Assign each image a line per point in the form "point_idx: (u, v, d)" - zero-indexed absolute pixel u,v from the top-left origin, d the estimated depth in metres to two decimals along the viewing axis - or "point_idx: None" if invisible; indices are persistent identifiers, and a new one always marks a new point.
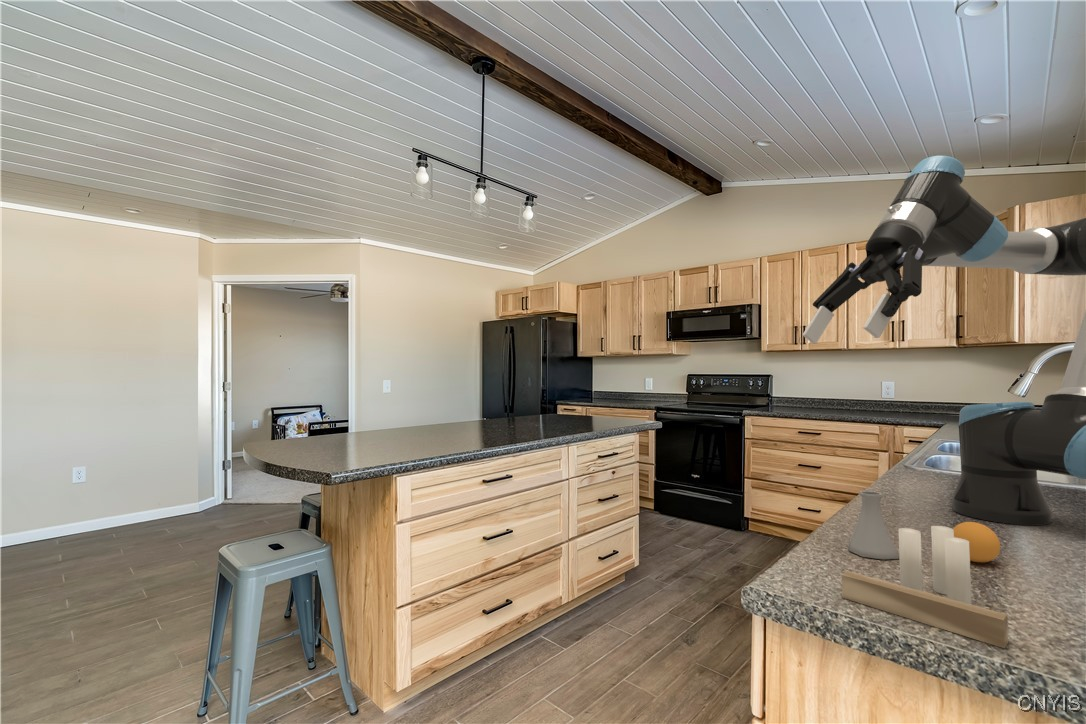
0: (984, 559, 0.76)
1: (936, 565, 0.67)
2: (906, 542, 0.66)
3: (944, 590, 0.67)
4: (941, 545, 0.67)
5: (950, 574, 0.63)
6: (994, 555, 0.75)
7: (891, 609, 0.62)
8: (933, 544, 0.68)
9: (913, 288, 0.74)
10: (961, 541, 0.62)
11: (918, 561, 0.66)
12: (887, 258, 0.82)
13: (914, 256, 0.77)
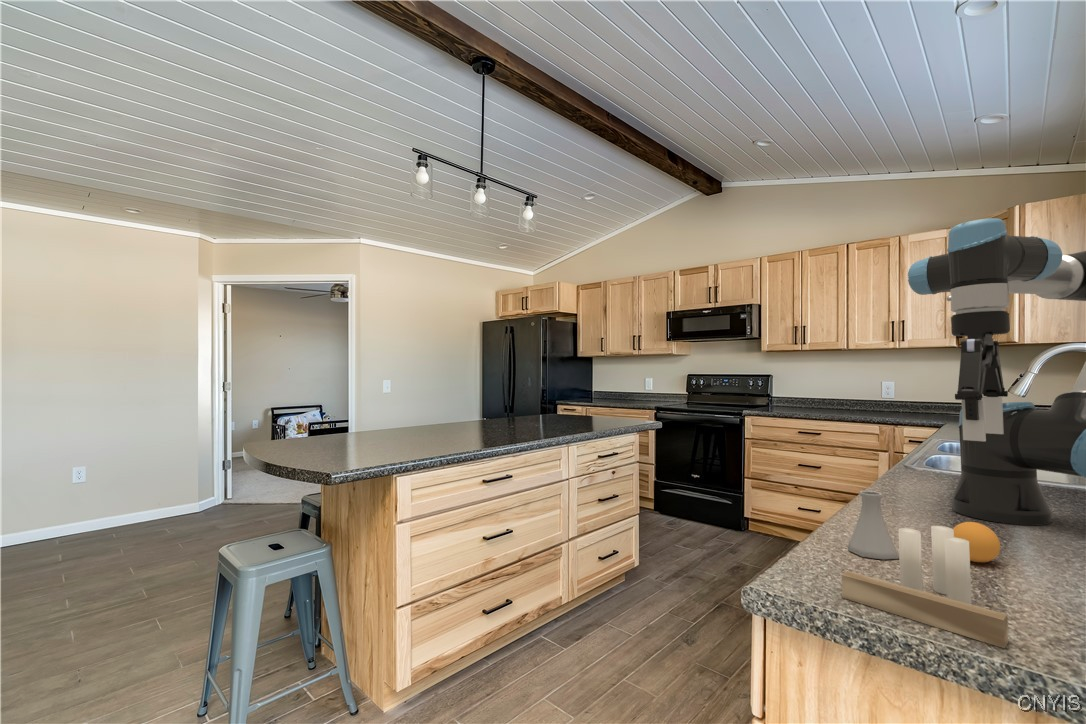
0: (984, 559, 0.76)
1: (936, 565, 0.67)
2: (906, 542, 0.66)
3: (944, 590, 0.67)
4: (941, 545, 0.67)
5: (950, 574, 0.63)
6: (994, 555, 0.75)
7: (891, 609, 0.62)
8: (933, 544, 0.68)
9: (966, 393, 0.79)
10: (961, 541, 0.62)
11: (918, 561, 0.66)
12: None
13: (966, 351, 0.81)
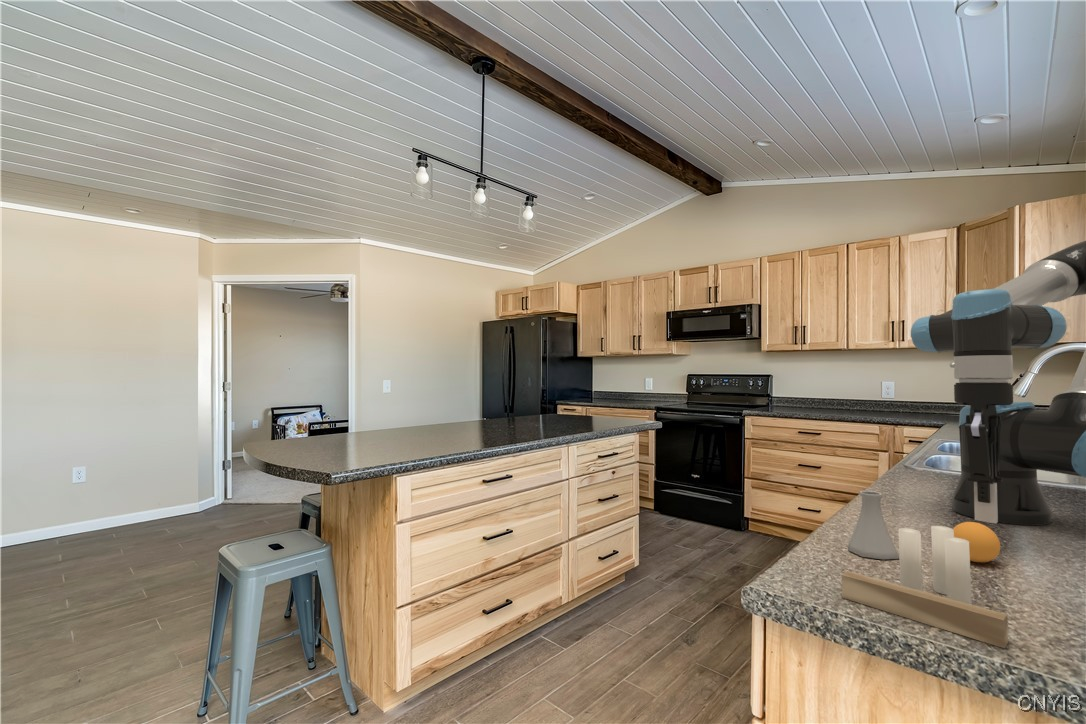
0: (984, 559, 0.76)
1: (936, 565, 0.67)
2: (906, 542, 0.66)
3: (944, 590, 0.67)
4: (941, 545, 0.67)
5: (950, 574, 0.63)
6: (994, 555, 0.75)
7: (891, 609, 0.62)
8: (933, 544, 0.68)
9: (979, 479, 0.82)
10: (961, 541, 0.62)
11: (918, 561, 0.66)
12: None
13: (972, 437, 0.81)
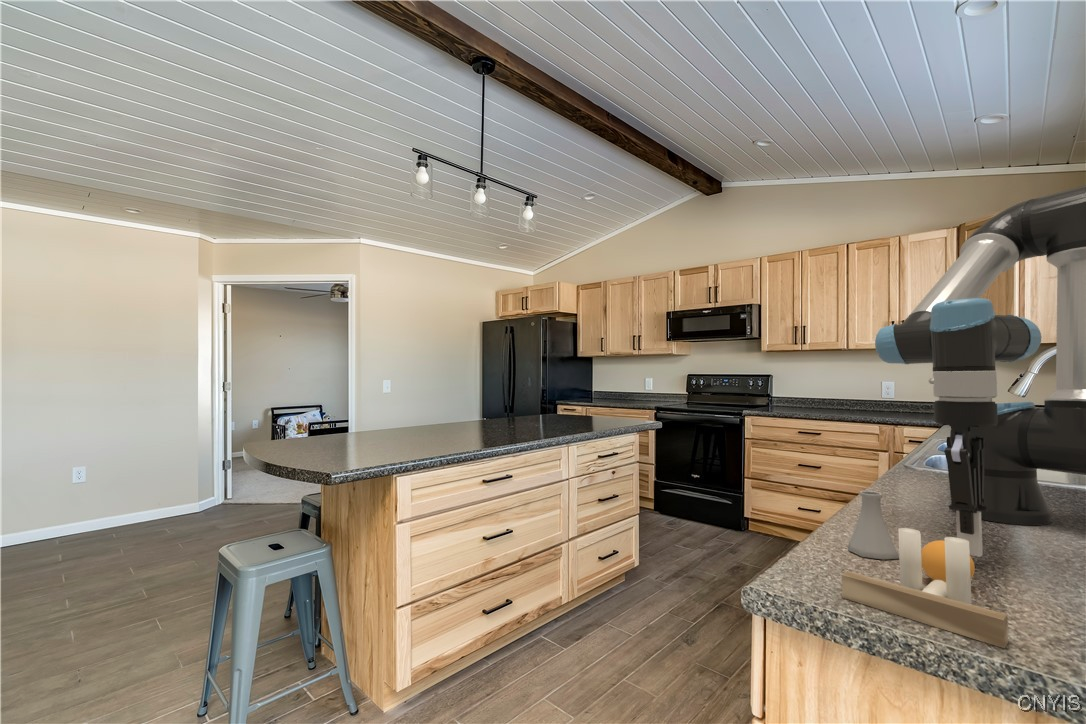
0: None
1: None
2: (906, 542, 0.66)
3: None
4: None
5: (950, 574, 0.63)
6: None
7: (891, 609, 0.62)
8: None
9: (961, 508, 0.74)
10: (961, 541, 0.62)
11: (918, 561, 0.66)
12: None
13: (952, 462, 0.74)
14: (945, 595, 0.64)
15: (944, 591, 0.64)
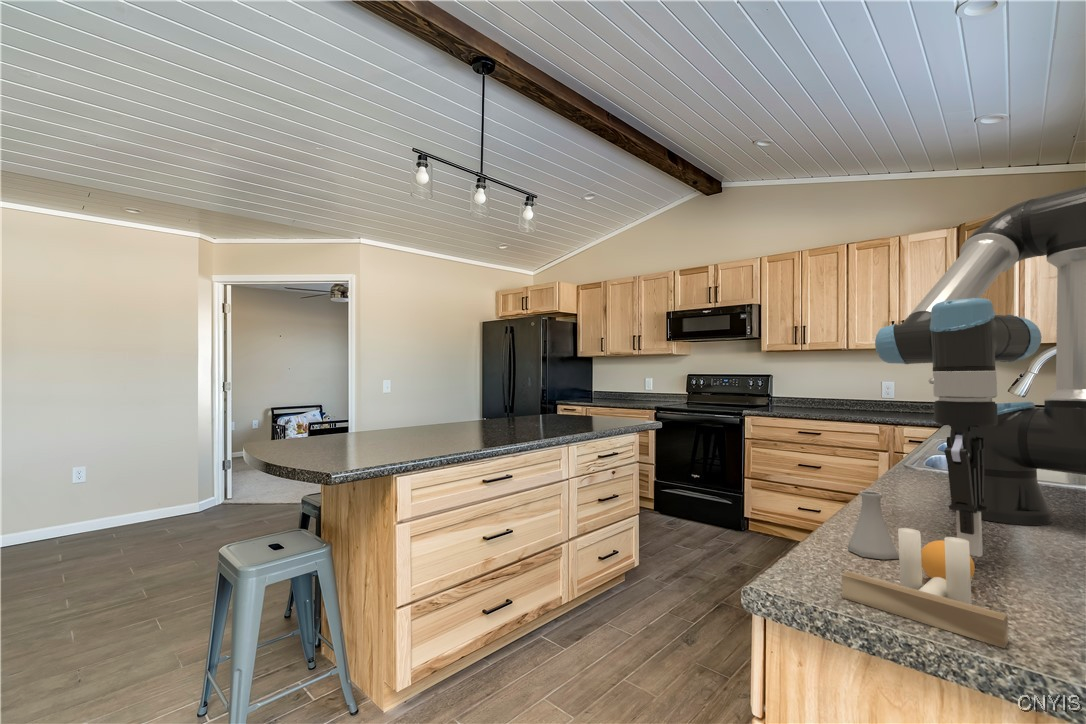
0: None
1: None
2: (906, 542, 0.66)
3: None
4: None
5: (950, 574, 0.63)
6: None
7: (891, 609, 0.62)
8: None
9: (961, 508, 0.74)
10: (961, 541, 0.62)
11: (917, 561, 0.66)
12: None
13: (952, 462, 0.74)
14: (944, 592, 0.64)
15: (943, 588, 0.64)
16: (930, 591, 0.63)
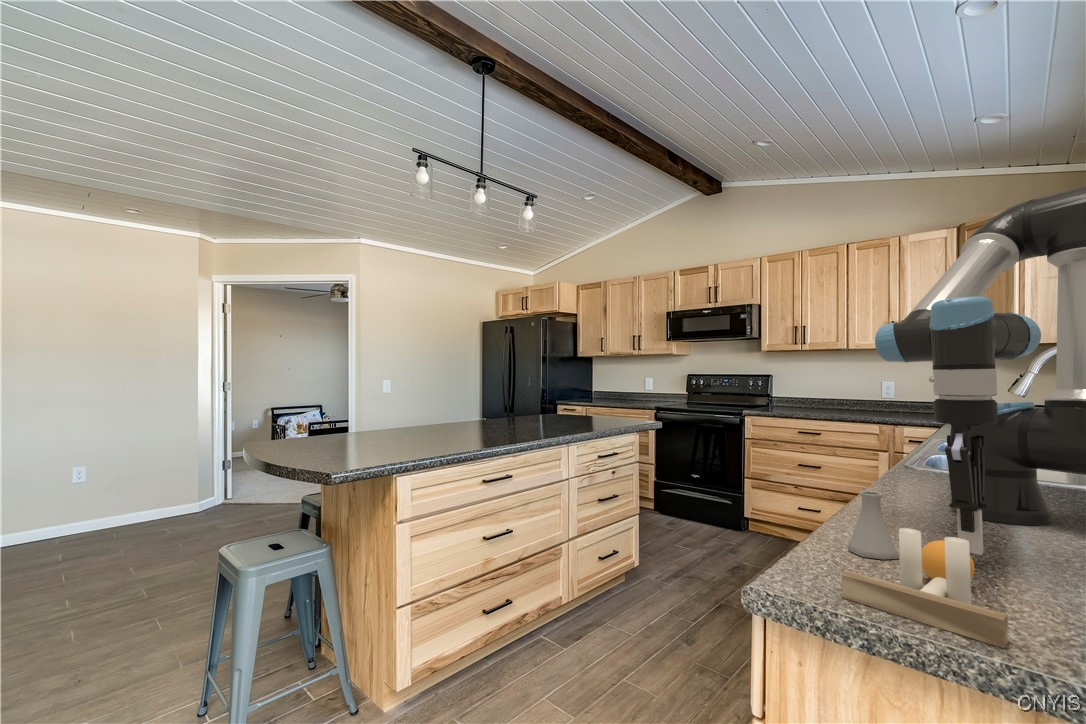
0: None
1: None
2: (906, 542, 0.66)
3: None
4: None
5: (950, 574, 0.63)
6: None
7: (891, 609, 0.62)
8: None
9: (961, 507, 0.75)
10: (961, 541, 0.62)
11: (918, 561, 0.66)
12: None
13: (953, 460, 0.74)
14: (946, 593, 0.64)
15: (945, 589, 0.64)
16: (932, 592, 0.62)
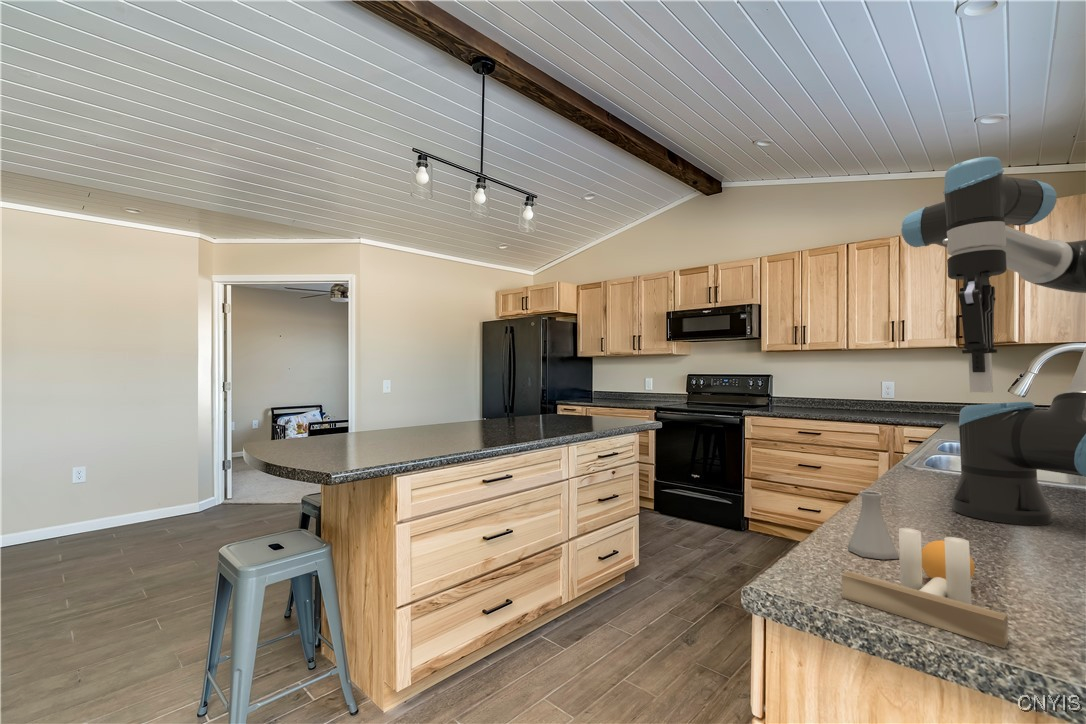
0: None
1: None
2: (906, 542, 0.66)
3: None
4: None
5: (950, 574, 0.63)
6: None
7: (891, 609, 0.62)
8: None
9: (973, 348, 0.82)
10: (961, 541, 0.62)
11: (918, 561, 0.66)
12: None
13: (965, 304, 0.81)
14: (945, 592, 0.64)
15: (945, 588, 0.64)
16: (931, 592, 0.62)
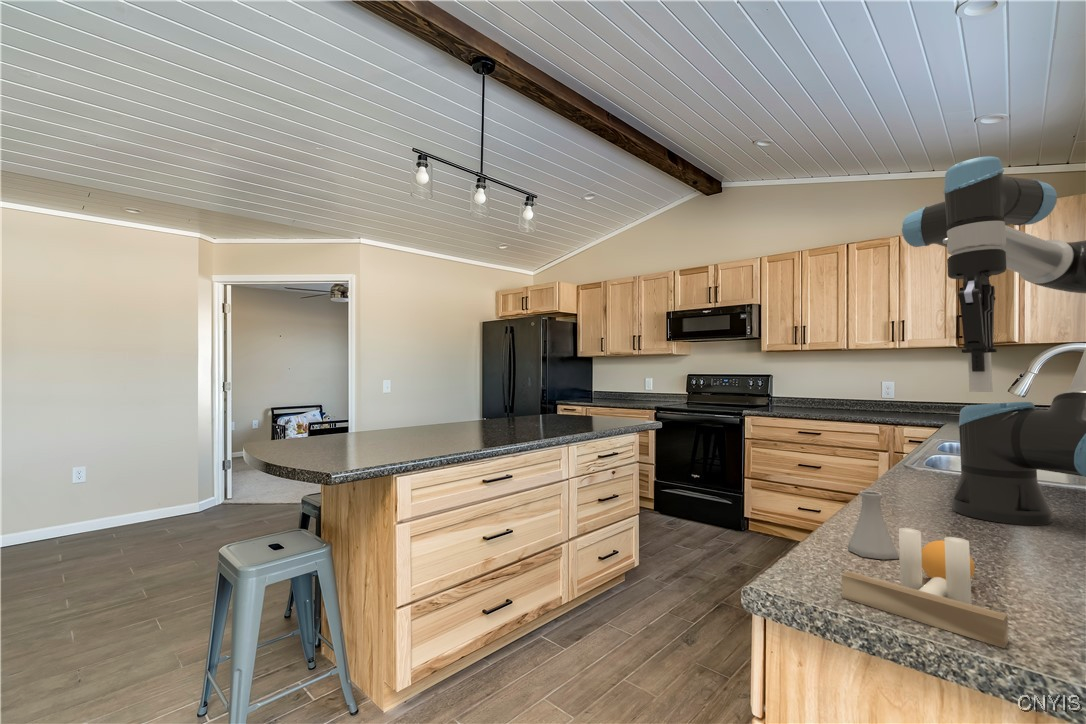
0: None
1: None
2: (906, 542, 0.66)
3: None
4: None
5: (950, 574, 0.63)
6: None
7: (891, 609, 0.62)
8: None
9: (973, 347, 0.82)
10: (961, 541, 0.62)
11: (918, 561, 0.66)
12: None
13: (965, 304, 0.81)
14: (945, 592, 0.64)
15: (944, 588, 0.64)
16: (930, 591, 0.63)
